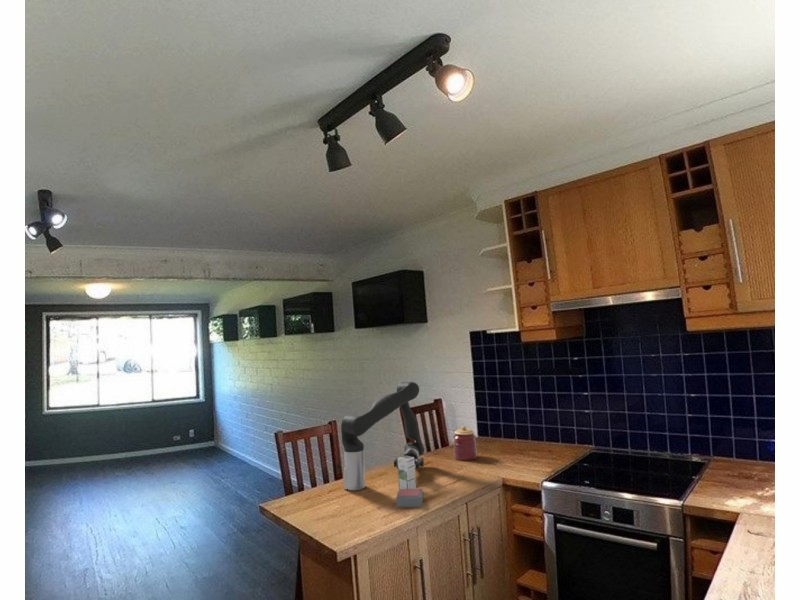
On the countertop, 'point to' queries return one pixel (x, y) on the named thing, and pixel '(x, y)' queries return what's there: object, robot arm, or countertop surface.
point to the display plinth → (409, 498)
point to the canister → (464, 444)
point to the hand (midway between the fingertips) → (407, 466)
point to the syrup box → (406, 472)
